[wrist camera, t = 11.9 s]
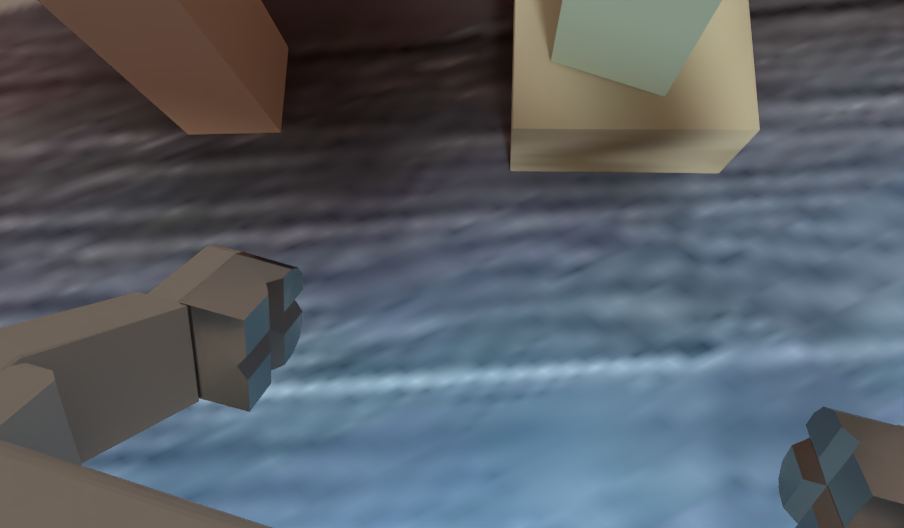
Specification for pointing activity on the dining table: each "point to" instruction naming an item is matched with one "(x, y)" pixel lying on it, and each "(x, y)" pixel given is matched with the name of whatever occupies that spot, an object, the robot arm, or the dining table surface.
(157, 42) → the terracotta block
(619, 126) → the beech block
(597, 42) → the sage block
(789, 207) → the dining table surface
